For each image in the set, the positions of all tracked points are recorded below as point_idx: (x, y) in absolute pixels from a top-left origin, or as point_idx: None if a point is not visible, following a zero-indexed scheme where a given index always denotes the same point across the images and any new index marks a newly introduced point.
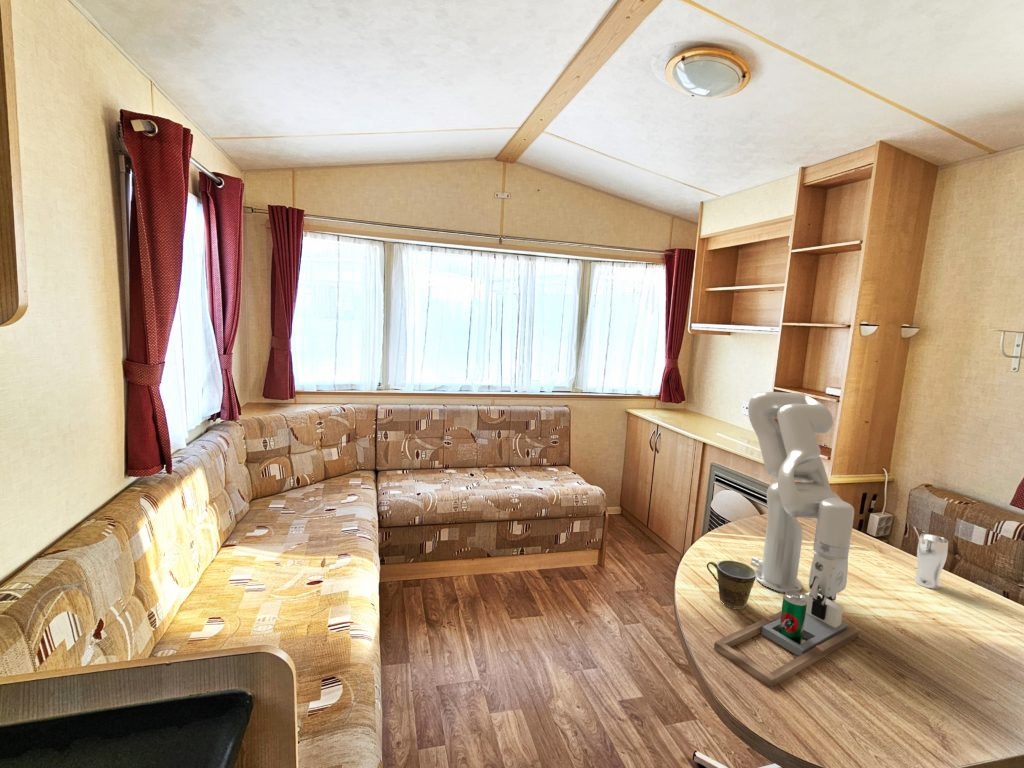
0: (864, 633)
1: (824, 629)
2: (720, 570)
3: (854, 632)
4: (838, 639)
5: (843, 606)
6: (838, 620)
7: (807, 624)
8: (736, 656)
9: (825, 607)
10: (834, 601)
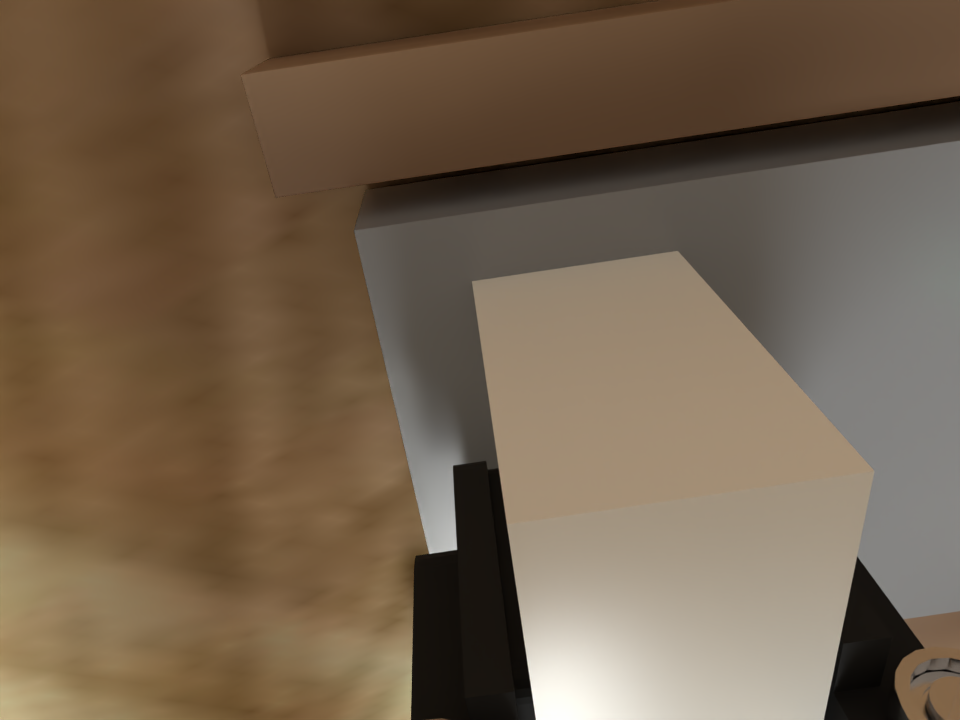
0: (62, 82)
1: (882, 276)
2: None
3: (412, 53)
4: (936, 14)
5: (509, 524)
6: (610, 313)
7: (953, 430)
8: None
9: (864, 602)
10: (472, 700)
